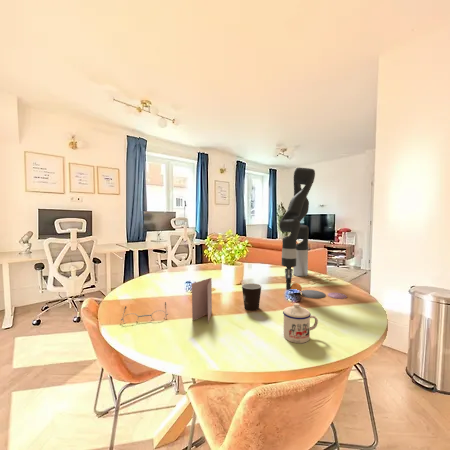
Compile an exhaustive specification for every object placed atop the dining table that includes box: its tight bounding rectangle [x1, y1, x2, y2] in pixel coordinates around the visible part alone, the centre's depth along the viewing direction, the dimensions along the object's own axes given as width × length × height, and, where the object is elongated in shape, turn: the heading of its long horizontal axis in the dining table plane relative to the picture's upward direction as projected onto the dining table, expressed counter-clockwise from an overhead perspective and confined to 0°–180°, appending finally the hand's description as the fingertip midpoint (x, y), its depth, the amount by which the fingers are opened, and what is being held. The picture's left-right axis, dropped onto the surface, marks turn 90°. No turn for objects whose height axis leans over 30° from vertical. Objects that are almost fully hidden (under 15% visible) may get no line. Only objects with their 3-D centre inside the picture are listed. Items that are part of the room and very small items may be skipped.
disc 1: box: [301, 289, 327, 299], centre depth 134 cm, size 13×13×1 cm
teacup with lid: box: [282, 302, 319, 344], centre depth 89 cm, size 12×9×12 cm
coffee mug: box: [241, 282, 262, 312], centre depth 117 cm, size 12×9×10 cm
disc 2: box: [327, 292, 348, 300], centre depth 131 cm, size 9×9×1 cm
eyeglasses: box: [120, 301, 169, 323], centre depth 112 cm, size 18×19×4 cm
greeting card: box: [191, 277, 213, 323], centre depth 105 cm, size 11×7×15 cm, turn 141°
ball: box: [291, 282, 303, 291], centre depth 135 cm, size 6×6×6 cm
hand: (288, 289), depth 136 cm, fingers closed
